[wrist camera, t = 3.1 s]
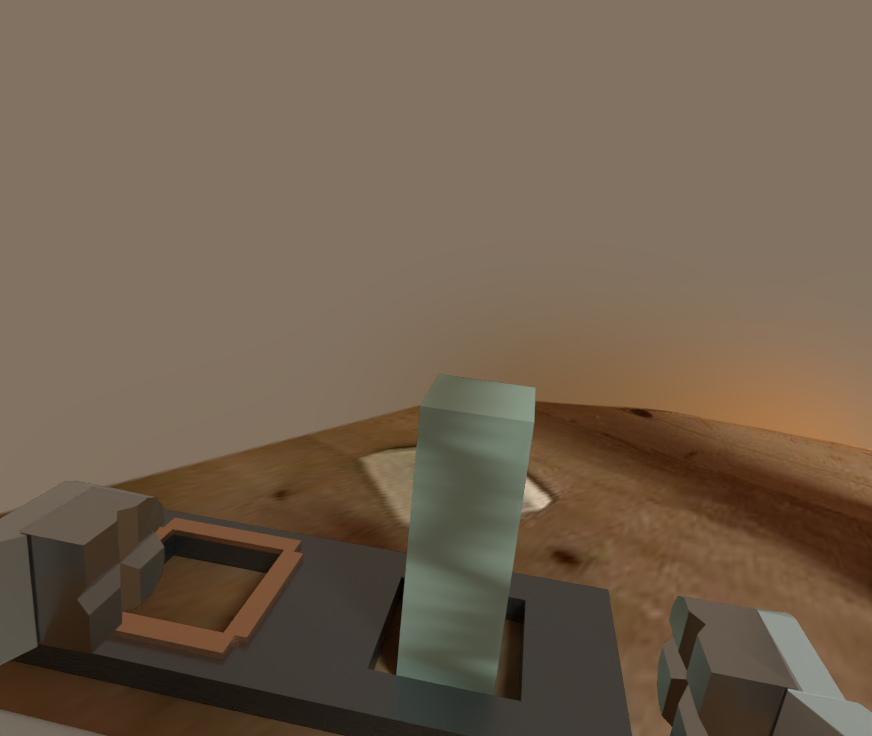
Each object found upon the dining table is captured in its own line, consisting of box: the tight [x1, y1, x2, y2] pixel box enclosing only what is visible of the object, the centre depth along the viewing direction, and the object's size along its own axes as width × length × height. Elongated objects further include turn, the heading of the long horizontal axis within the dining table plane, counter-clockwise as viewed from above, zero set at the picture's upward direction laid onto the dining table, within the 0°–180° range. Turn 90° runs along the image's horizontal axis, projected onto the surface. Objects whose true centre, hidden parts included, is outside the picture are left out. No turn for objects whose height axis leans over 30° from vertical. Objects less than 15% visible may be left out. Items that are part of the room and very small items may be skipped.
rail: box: [12, 509, 632, 736], centre depth 27 cm, size 26×10×2 cm, turn 80°
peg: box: [396, 374, 536, 695], centre depth 25 cm, size 4×4×12 cm
